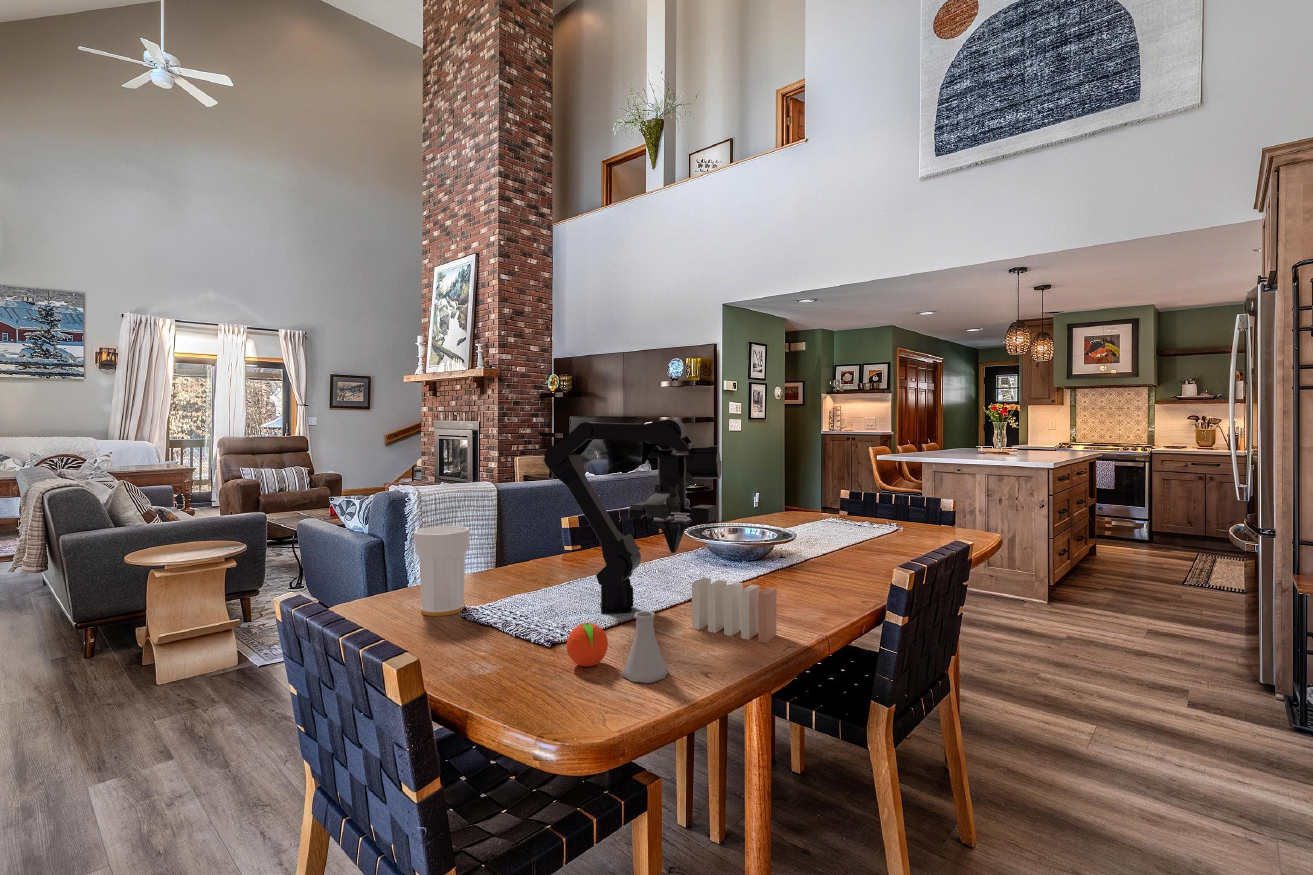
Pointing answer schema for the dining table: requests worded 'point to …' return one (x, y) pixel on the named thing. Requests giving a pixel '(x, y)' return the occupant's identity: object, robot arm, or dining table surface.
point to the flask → (645, 652)
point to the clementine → (587, 644)
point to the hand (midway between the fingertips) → (673, 552)
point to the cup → (442, 568)
